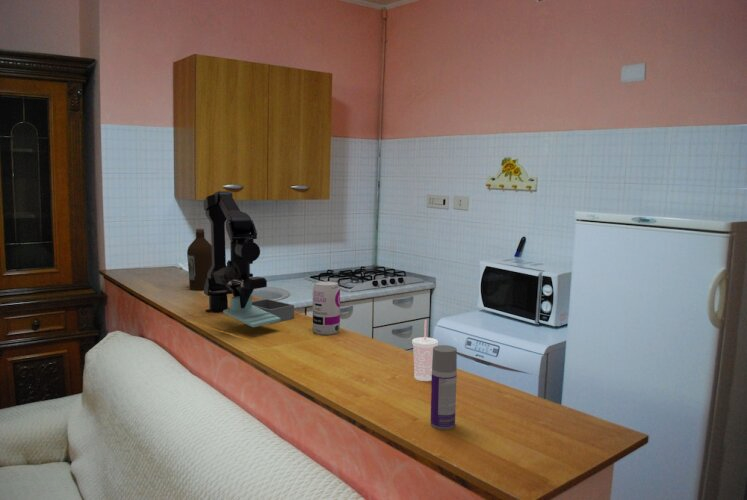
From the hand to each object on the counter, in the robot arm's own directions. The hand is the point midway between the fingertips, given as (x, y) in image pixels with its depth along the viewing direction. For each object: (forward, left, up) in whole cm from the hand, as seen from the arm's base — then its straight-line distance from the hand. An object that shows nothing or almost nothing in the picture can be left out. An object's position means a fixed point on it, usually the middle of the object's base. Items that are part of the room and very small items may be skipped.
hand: (240, 307), depth 178 cm
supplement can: (+22, +15, -7) cm, 27 cm away
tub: (-3, +13, -7) cm, 15 cm away
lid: (+5, 0, -2) cm, 6 cm away
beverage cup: (+68, +2, -7) cm, 68 cm away
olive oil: (-64, +27, -7) cm, 70 cm away
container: (+86, -17, -7) cm, 87 cm away
